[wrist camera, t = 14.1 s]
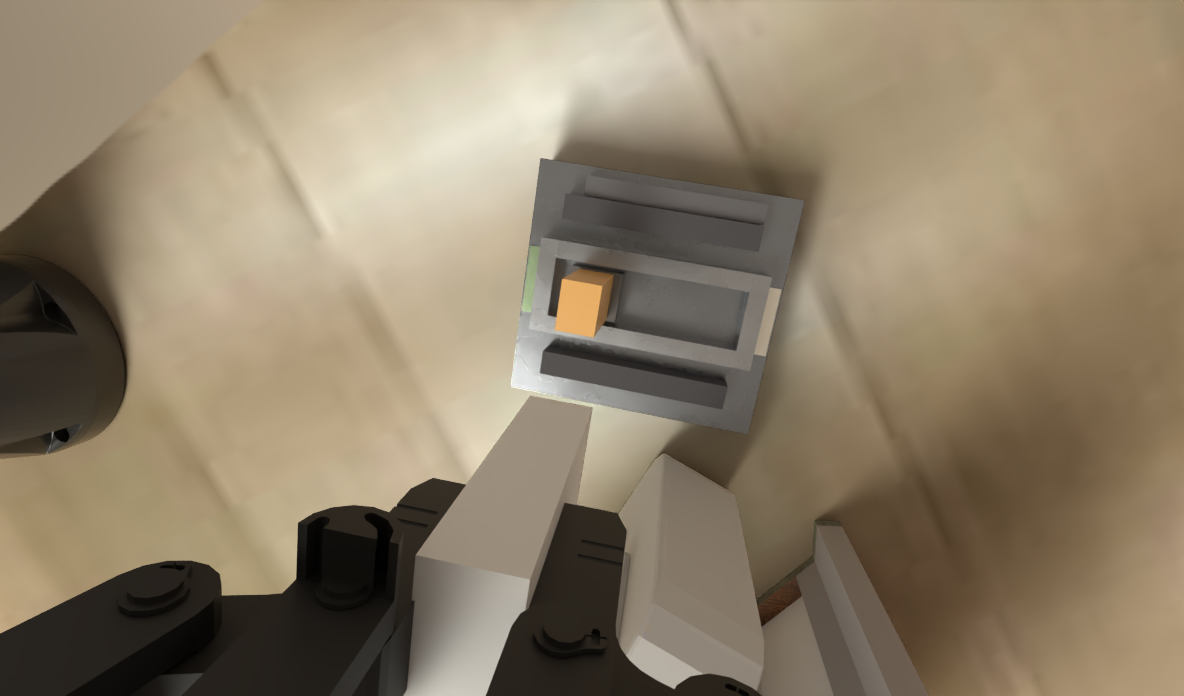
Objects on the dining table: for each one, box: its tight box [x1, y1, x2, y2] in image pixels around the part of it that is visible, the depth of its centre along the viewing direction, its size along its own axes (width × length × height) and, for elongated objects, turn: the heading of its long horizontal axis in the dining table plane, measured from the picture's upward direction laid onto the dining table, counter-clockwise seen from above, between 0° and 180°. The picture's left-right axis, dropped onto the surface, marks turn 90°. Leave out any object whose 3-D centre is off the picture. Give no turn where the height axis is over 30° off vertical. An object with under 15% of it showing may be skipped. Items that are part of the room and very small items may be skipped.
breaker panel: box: [511, 158, 805, 435], centre depth 35 cm, size 15×14×4 cm
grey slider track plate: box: [540, 175, 769, 410], centre depth 34 cm, size 11×12×1 cm
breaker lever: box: [555, 264, 625, 338], centre depth 32 cm, size 3×3×6 cm
